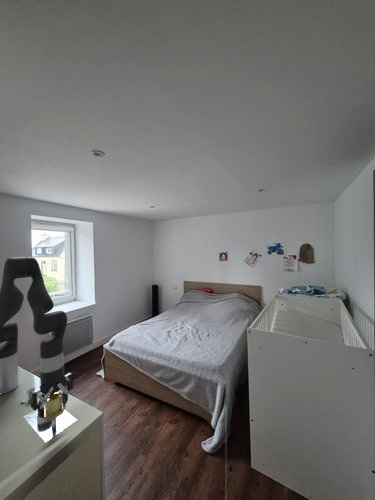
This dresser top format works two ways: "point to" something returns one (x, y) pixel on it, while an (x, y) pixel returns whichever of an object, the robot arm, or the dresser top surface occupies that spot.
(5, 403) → the dresser top surface
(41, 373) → the robot arm
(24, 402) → the pacifier
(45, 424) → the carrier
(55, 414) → the brass octagonal tube
